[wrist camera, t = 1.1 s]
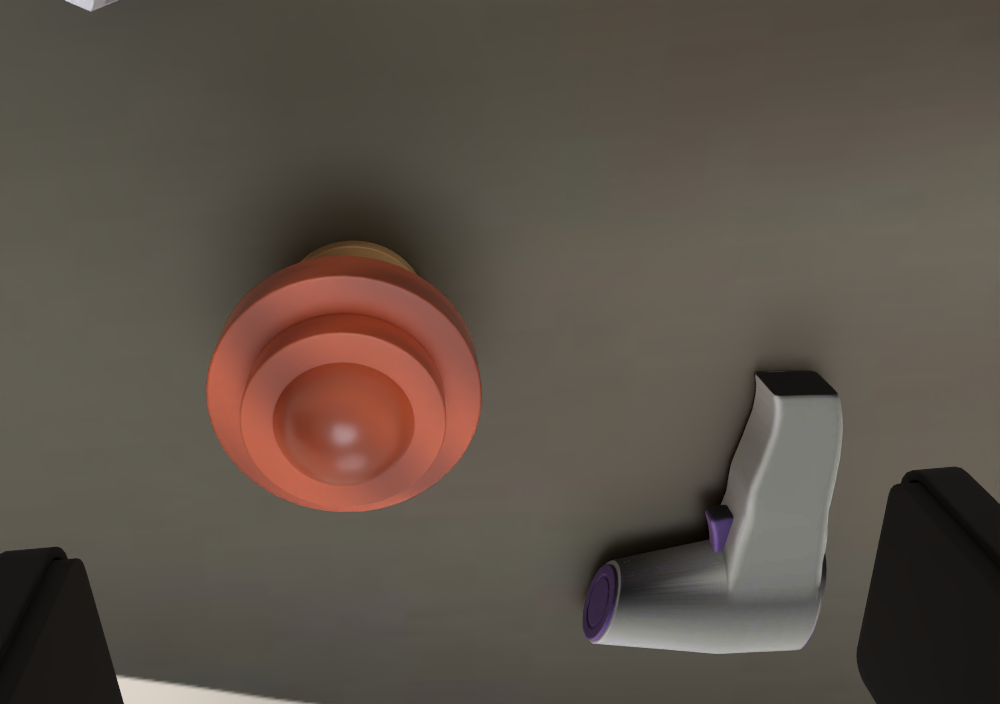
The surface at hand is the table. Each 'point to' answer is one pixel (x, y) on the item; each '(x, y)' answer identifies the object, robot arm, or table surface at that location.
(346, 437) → the mushroom
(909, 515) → the robot arm
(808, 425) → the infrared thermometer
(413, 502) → the table surface
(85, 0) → the walkman
